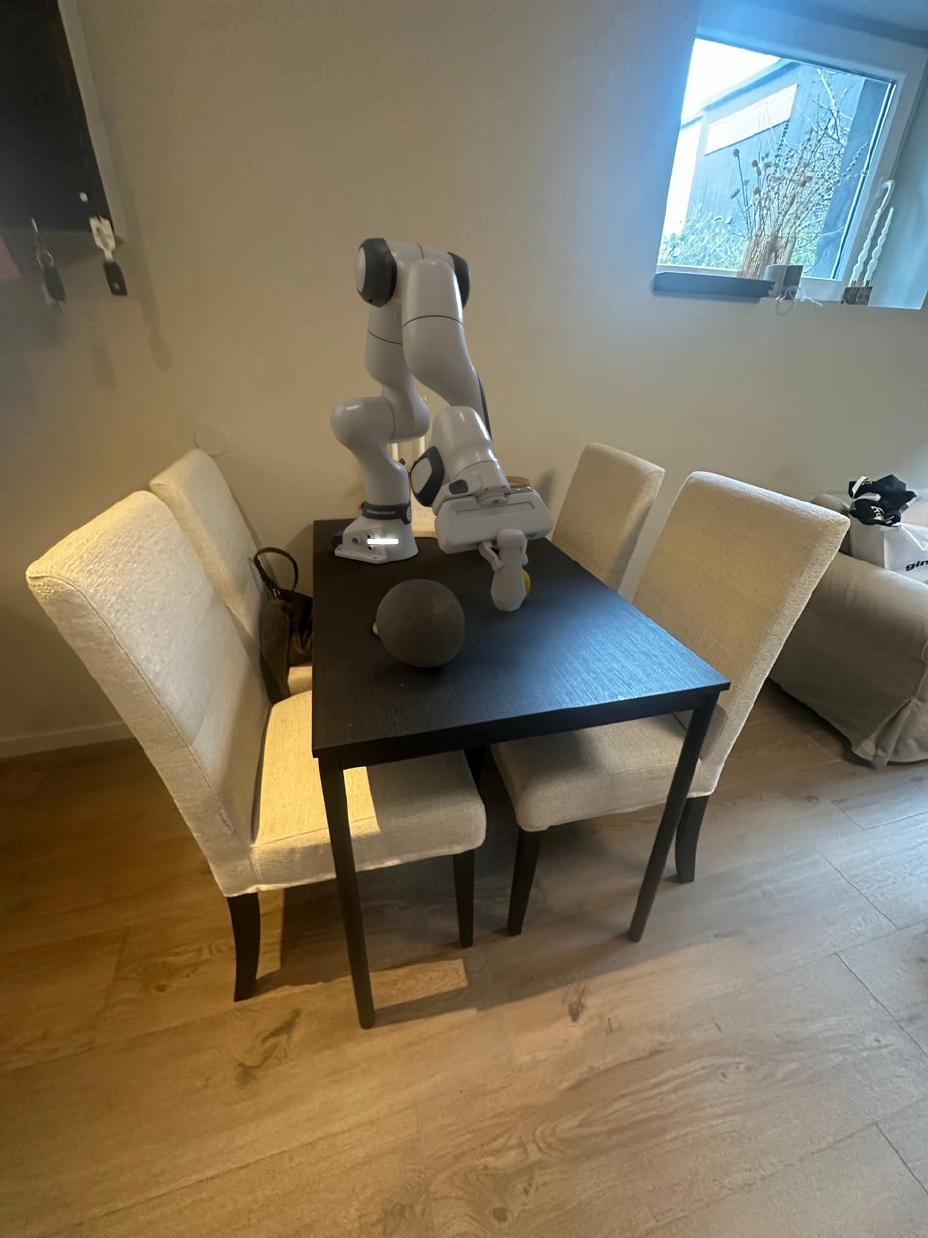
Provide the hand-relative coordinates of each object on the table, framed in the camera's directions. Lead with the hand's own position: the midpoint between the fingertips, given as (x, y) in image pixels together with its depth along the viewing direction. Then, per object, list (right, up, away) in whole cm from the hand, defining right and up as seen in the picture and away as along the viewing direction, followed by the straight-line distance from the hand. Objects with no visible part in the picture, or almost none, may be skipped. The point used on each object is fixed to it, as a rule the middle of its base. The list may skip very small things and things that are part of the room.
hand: (511, 566), depth 79 cm
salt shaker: (0, -6, +4) cm, 7 cm away
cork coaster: (-21, -10, +17) cm, 29 cm away
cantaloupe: (-14, -16, +5) cm, 22 cm away
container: (+4, +13, +62) cm, 63 cm away
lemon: (+4, -5, +27) cm, 28 cm away
